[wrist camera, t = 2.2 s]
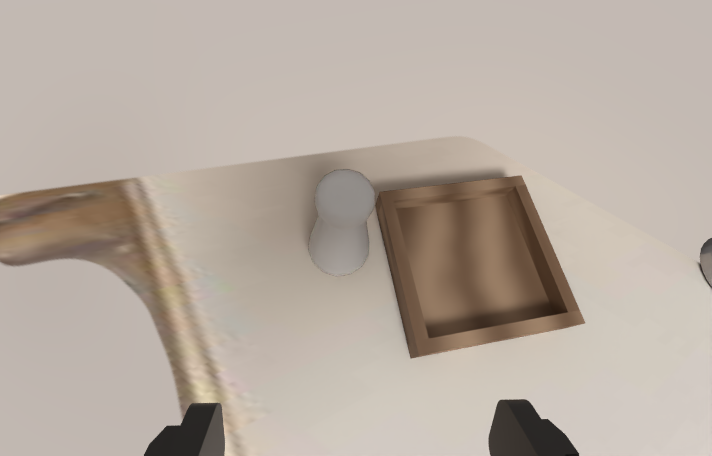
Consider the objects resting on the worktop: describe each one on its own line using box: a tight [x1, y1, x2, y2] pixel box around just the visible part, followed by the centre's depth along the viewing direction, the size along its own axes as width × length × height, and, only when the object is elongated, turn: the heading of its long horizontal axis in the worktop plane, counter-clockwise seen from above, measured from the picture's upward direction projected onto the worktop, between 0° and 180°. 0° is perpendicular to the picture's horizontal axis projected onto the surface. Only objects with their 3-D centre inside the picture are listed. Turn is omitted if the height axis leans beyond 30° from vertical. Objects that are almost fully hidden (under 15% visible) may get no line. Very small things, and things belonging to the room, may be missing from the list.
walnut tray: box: [375, 176, 585, 358], centre depth 36 cm, size 16×16×3 cm
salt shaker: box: [308, 169, 375, 276], centre depth 30 cm, size 6×6×13 cm
